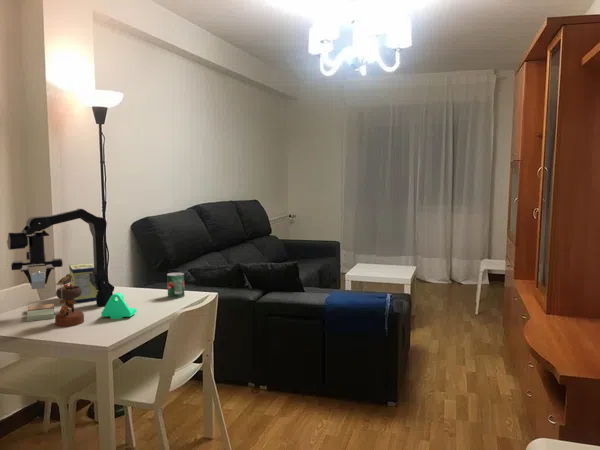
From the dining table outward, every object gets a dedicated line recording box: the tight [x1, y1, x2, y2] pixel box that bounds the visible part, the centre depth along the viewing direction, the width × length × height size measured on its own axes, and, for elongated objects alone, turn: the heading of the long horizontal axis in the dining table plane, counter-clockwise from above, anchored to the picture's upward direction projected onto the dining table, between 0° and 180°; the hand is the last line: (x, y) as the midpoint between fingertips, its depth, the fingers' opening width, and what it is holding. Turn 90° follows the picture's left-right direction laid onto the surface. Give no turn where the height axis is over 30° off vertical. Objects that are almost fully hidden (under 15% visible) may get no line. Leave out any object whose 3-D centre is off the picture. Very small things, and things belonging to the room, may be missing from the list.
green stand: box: [26, 307, 55, 322], centre depth 216 cm, size 10×9×2 cm
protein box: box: [68, 262, 98, 304], centre depth 247 cm, size 10×16×16 cm
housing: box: [30, 270, 47, 290], centre depth 217 cm, size 7×5×6 cm
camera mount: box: [100, 292, 137, 320], centre depth 217 cm, size 12×8×10 cm, turn 87°
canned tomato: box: [166, 271, 186, 299], centre depth 250 cm, size 8×8×11 cm
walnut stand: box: [27, 303, 55, 311], centre depth 225 cm, size 10×7×2 cm
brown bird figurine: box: [54, 273, 85, 328], centre depth 208 cm, size 15×11×20 cm
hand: (38, 284), depth 218 cm, fingers closed on housing, 5 cm apart
